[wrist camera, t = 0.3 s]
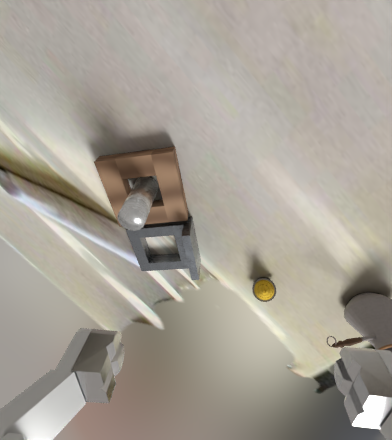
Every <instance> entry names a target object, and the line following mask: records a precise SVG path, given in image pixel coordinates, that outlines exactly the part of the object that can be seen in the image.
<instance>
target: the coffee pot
mask: <svg viewBox="0 0 392 440" xmlns="http://www.w3.org/2000/svg"><path fill="white" fill-rule="evenodd" d="M344 317H345V319H346V321H347V322H348V323H349V324H350V325H351V326H352V327H354V328H355V329H356V330H357V331H358V332H359V333H360V334H361V335H362V336H363V337H361V338H360V337H359V338H351V339H346V340H344V341H339V342H338V343H336V342H335V343H334V344H333V345H332V346H331V347H335V348H338V347H344V346H351V345H354V344H357V343H360V342H362V341H367V340H368V341H369V342H370V343H371V344H372V345H373V346H374V347H375V349H376V350H388V351H391V352H392V299H390V298H388V297H386V296H384V295H380V294H376V293H362V294H359V295H357V296H355V297H353V298H352V299H351V300H350V301H349V303H348V304H347V305H346V307H345V310H344ZM330 337H332V336H330ZM328 338H329V337H328ZM328 338H327V344H328ZM333 338H334V337H333ZM334 339H335V338H334ZM335 341H336V339H335ZM328 345H329V344H328ZM329 346H330V345H329Z"/></svg>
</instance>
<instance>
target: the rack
mask: <svg viewBox="0 0 392 440" xmlns="http://www.w3.org/2000/svg"><path fill="white" fill-rule="evenodd" d="M126 231H127V234H128V237H129V239H130V242H131V244H132V247H133V250H134V252H135V255H136V257H137V260H138V263H139V265H140V268H141V270H142V271H152V270H168V269H184V268H189V270H190V274H191V279H192V280H199V275H200V262H201V259H200V254H199V249H198V244H197V239H196V233H195V228H194V223H193V218H192V217H189V218H188V220H187V221H177V222H166V223H154V224H145V225H144V227H143V228H141V229H140V230H136V231H132V230H128V229H126ZM169 235H174V236H175V239H176V243H177V247H178V251H179V254H168V255H154V256H151V254H150V251H149V248H148V245H147V242H146V239H145V237H156V236H169Z"/></svg>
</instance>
